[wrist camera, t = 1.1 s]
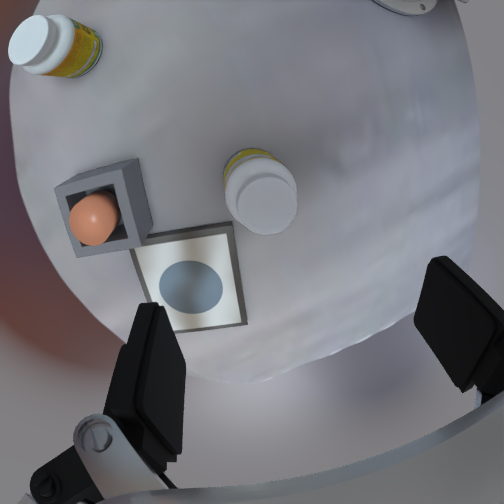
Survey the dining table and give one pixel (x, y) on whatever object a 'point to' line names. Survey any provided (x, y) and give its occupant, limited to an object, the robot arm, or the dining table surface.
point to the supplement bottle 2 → (260, 191)
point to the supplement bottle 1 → (55, 46)
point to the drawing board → (193, 277)
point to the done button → (95, 217)
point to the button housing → (129, 198)
